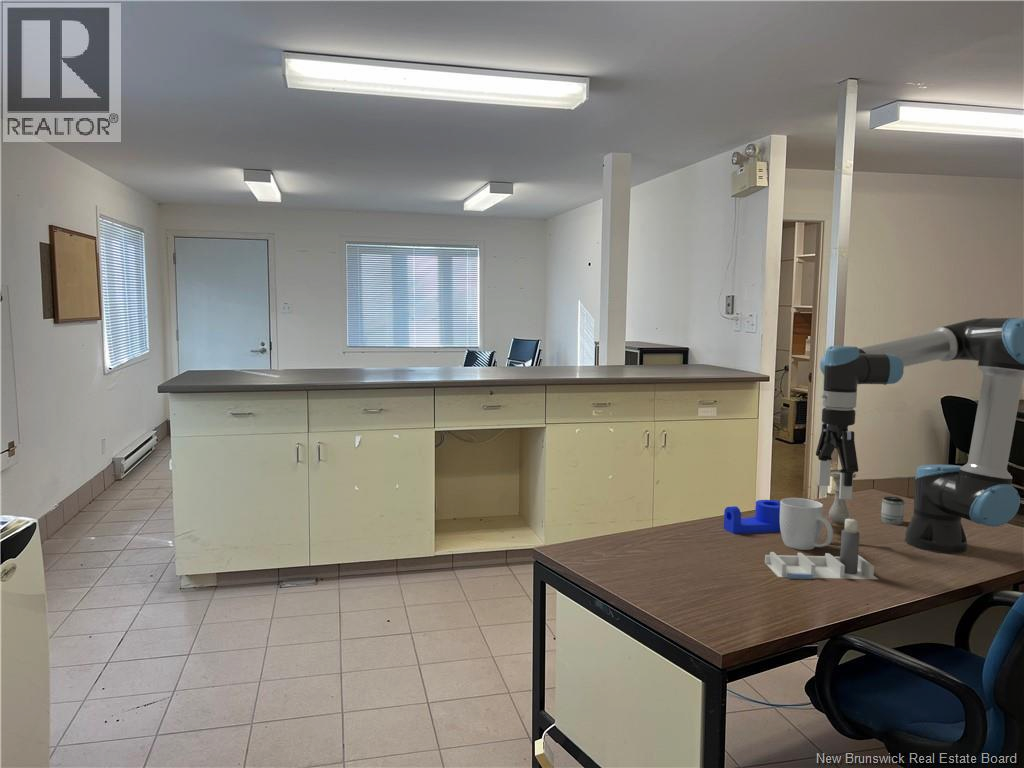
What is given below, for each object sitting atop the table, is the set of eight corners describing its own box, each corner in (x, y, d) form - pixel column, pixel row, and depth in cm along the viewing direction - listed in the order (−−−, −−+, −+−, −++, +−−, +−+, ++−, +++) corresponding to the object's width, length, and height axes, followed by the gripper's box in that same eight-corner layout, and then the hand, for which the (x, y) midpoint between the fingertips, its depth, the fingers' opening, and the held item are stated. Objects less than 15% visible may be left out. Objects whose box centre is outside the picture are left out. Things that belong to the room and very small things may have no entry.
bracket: (772, 522, 218) (773, 498, 218) (792, 531, 210) (793, 506, 209) (719, 527, 212) (720, 503, 212) (737, 536, 204) (738, 511, 203)
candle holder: (856, 548, 194) (860, 476, 192) (822, 544, 197) (826, 474, 195) (852, 538, 202) (856, 470, 200) (819, 535, 205) (823, 468, 203)
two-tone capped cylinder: (852, 568, 175) (855, 518, 173) (860, 574, 171) (863, 522, 169) (836, 568, 175) (839, 517, 174) (843, 573, 171) (846, 522, 170)
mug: (842, 554, 188) (845, 507, 187) (818, 562, 182) (821, 513, 181) (793, 539, 200) (795, 495, 199) (769, 546, 194) (771, 500, 193)
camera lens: (876, 519, 222) (877, 495, 221) (894, 519, 223) (896, 495, 222) (889, 525, 216) (890, 500, 215) (907, 524, 217) (909, 500, 216)
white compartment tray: (859, 568, 178) (859, 553, 177) (879, 584, 167) (880, 568, 167) (764, 566, 178) (765, 551, 178) (779, 582, 168) (780, 566, 167)
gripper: (805, 402, 185) (801, 480, 187) (844, 414, 160) (838, 504, 162) (834, 402, 184) (830, 480, 186) (877, 415, 160) (871, 505, 161)
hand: (834, 492), depth 174 cm, fingers open, 13 cm apart
